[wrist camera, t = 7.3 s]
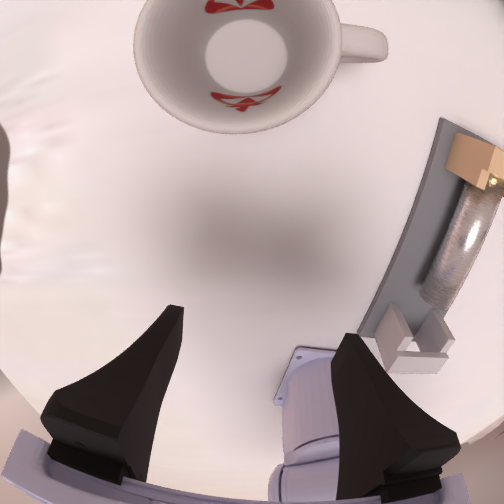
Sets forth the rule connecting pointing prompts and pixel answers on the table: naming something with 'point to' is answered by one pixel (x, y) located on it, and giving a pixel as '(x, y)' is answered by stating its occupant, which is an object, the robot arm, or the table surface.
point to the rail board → (427, 254)
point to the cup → (245, 58)
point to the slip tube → (461, 242)
